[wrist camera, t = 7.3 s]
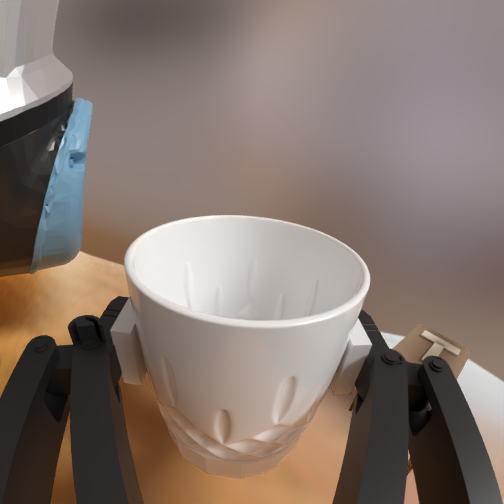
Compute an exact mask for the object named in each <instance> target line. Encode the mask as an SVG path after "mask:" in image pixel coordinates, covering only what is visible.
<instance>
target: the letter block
mask: <svg viewBox="0 0 504 504" xmlns="http://www.w3.org/2000/svg"><path fill="white" fill-rule="evenodd" d="M393 350H396V351H397V352H399V353H401V354H402V356H403V357H404V358H405V361H406V362H410V363H417V364H422V362H423V360H424V358H426V357H427V356H431V355H433V356H438V357H440V358H442V359H444V360H445V361H446V362H447V363H448V364H449V366H450V368H451V370H452V372H453V374H454V376H455V378H456V379H457V378H458V376H459V374H460V372H461V370H462V369H463V367H464V365H465V363H466V361H467V359H468V357H469V355H470V353H471V351H469V350H468V349H466V348H464V347H462V346H461V345H459V344H457V343H455V342H453V341H452V340H450V339H448V338H446V337H444V336H442V335H441V334H439V333H437V332H435V331H433V330H432V329H430V328H428V327H426V326H424V325H423V324H421V323H419V324H418V325H417V326H416V327H415V328H414V329H413V330H412V331H411V332H410V333H409V334H408V335H407V336H406V337H405V338H404V339H403V340H402V341H401V342H399V343H398V344H397V345H396V346H395V347H394V348H393ZM429 406H430V404H429ZM430 409H431V406H430Z"/></svg>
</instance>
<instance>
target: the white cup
mask: <svg viewBox="0 0 504 504" xmlns="http://www.w3.org/2000/svg"><path fill="white" fill-rule="evenodd" d="M124 267H125V273H126V279H127V284H128V290H129V295H130V300H131V305H132V310H133V315H134V320H135V324H136V329H137V333H138V338H139V342H140V346H141V350H142V354H143V358H144V362H145V366H146V370H147V373H148V377H149V380H150V384H151V387H152V390H153V393H154V395H155V399H156V401H157V403H158V406H159V409H160V412H161V415H162V417H163V419H164V420H165V422H166V424H167V427H168V430H169V433H170V435H171V437H172V439H173V441H174V443H175V445H176V446H177V448H178V450H179V452H180V454H181V456H182V457H184V458H185V459H186V460H188V461H189V462H191V463H192V464H194V465H195V466H197V467H198V468H200V469H201V470H203V471H204V472H206V473H208V474H213V475H219V476H225V477H231V478H238V479H241V478H245V477H249V476H253V475H257V474H261V473H265V472H268V471H271V470H272V469H273V468H274V467H276V466H277V465H278V464H279V463H280V462H281V461H283V460H284V459H285V458H286V457H287V456H288V455H289V454H291V452H292V451H293V449H294V447H295V445H296V443H297V441H298V440H299V438H300V436H301V434H302V433H303V432H304V430H305V429H306V427H307V426H308V424H309V423H310V421H311V420H312V418H313V416H314V414H315V412H316V410H317V408H318V406H319V404H320V403H321V401H322V399H323V398H324V396H325V394H326V392H327V390H328V388H329V386H330V384H331V381H332V379H333V377H334V375H335V372H336V370H337V368H338V366H339V363H340V361H341V359H342V356H343V354H344V352H345V349H346V347H347V344H348V342H349V339H350V337H351V334H352V332H353V329H354V327H355V324H356V322H357V319H358V316H359V314H360V311H361V308H362V306H363V303H364V300H365V297H366V295H367V292H368V289H369V285H370V274H369V270H368V268H367V266H366V264H365V262H364V261H363V260H362V258H361V257H360V256H359V255H358V254H357V253H356V252H355V251H353V250H352V249H351V248H349V247H348V246H347V245H345V244H344V243H342V242H341V241H339V240H337V239H335V238H333V237H331V236H329V235H327V234H325V233H322V232H319V231H317V230H314V229H311V228H308V227H305V226H302V225H298V224H294V223H290V222H286V221H281V220H276V219H270V218H262V217H253V216H238V215H215V216H203V217H193V218H187V219H182V220H178V221H173V222H170V223H166V224H163V225H160V226H158V227H155V228H153V229H151V230H149V231H147V232H145V233H144V234H142V235H141V236H139V237H138V238H137V239H136V240H135V241H134V242H133V243H132V244H131V245H130V246H129V248H128V250H127V252H126V254H125V259H124Z"/></svg>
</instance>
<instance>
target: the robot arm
mask: <svg viewBox="0 0 504 504" xmlns="http://www.w3.org/2000/svg"><path fill="white" fill-rule="evenodd" d="M58 4H59V0H0V277H2V276H10V275H18V274H26V273H30V274H33V273H35V272H36V271H37V270H42V269H46V268H51V267H55V266H60V265H64V264H67V263H69V262H70V261H71V260H73V259H74V258H75V257H76V256H77V254H78V252H79V251H80V248H81V244H82V218H83V217H82V216H83V191H84V175H85V161H86V153H87V144H88V138H89V131H90V124H91V117H92V110H93V106H92V104H91V102H89V101H85V100H83V99H82V98H77V99H75V101H73V100H72V85H73V84H72V83H73V75H72V72H70V70H69V69H67V68H66V67H65V66H64V65H63V64H62V63H61V62H60V61H59V60H58V59H57V58H56V57H54V54H53V49H52V46H53V37H54V29H55V22H56V16H57V10H58ZM68 330H69V333H70V336H71V339H72V342H73V345H61V346H57V345H56V343H55V340H54V339H53V338H52V337H50V336H47V335H43V336H38V337H35V338H34V339H32V340H31V341H30V342H29V343H28V344H27V346H26V348H25V350H24V352H23V353H22V355H21V357H20V359H19V361H18V363H17V365H16V367H15V368H14V370H13V372H12V374H11V376H10V378H9V380H8V383H7V385H6V387H5V389H4V391H3V393H2V395H1V397H0V504H50V502H51V495H52V489H53V483H54V477H55V472H56V466H57V461H58V457H59V452H60V448H61V443H62V439H63V435H64V431H65V427H66V423H67V419H68V416H69V412H70V433H71V453H72V466H73V476H74V484H75V492H76V499H77V504H144V502H143V499H142V495H141V492H140V488H139V484H138V480H137V476H136V472H135V468H134V464H133V459H132V455H131V450H130V445H129V440H128V435H127V429H126V424H125V418H124V411H123V405H122V397H121V390H120V386H119V383H118V381H119V379H120V376H121V374H122V377H123V380H124V383H128V384H133V385H139V386H142V384H143V381H144V378H145V375H146V372H147V370H146V366H145V362H144V358H143V354H142V350H141V346H140V342H139V338H138V333H137V329H136V324H135V320H134V315H133V310H132V305H131V300H130V297H121V296H118V297H117V298H115V299H114V300H112V301H111V302H110V303H109V305H108V306H107V308H106V310H105V311H104V312H103V314H102V316H101V317H100V319H99V318H98V317H96V316H93V315H84V316H79V317H77V318H75V319H73V320H72V321H71V322H70V323H69V326H68ZM330 385H331V388H332V392H333V395H343V394H351V392H352V390H353V388H354V386H356V388H357V391H358V393H357V395H356V397H355V399H354V401H353V403H352V405H351V407H350V409H349V411H352V409H353V412H352V418H351V424H350V430H349V435H348V440H347V445H346V450H345V455H344V459H343V464H342V468H341V473H340V477H339V481H338V485H337V489H336V492H335V496H334V500H333V503H332V504H404V499H405V490H406V479H407V465H408V449H409V454H410V458H411V463H412V468H413V472H414V478H415V483H416V488H417V494H418V500H419V504H503V501H502V497H501V494H500V490H499V487H498V483H497V480H496V477H495V473H494V470H493V467H492V464H491V461H490V458H489V456H488V453H487V450H486V447H485V445H484V442H483V439H482V437H481V434H480V432H479V429H478V427H477V424H476V422H475V420H474V417H473V415H472V412H471V410H470V408H469V406H468V403H467V401H466V399H465V397H464V395H463V393H462V390H461V388H460V386H459V384H458V382H457V380H456V378H455V376H454V374H453V372H452V370H451V368H450V366H449V364H448V363H447V362H446V361H445V360H444V359H442V358H440V357H438V356H433V355H431V356H427V357H426V358H424V360H423V362H422V364H417V363H410V362H406V361H405V358H404V357H403V356H402V354H401V353H399V352H397V351H396V350H393V349H389V347H388V346H387V344H386V342H385V340H384V339H383V337H382V335H381V333H380V332H379V331H378V328H377V327H376V325H375V323H374V321H373V320H372V318H371V316H369V315H368V314H367V313H366V312H365V311H363V310H361V311H360V314H359V316H358V319H357V322H356V324H355V327H354V329H353V332H352V334H351V337H350V339H349V342H348V344H347V347H346V349H345V352H344V354H343V356H342V359H341V361H340V363H339V366H338V368H337V370H336V372H335V375H334V377H333V379H332V381H331V384H330ZM429 404H430V406H431V409H430V406H429Z"/></svg>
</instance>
